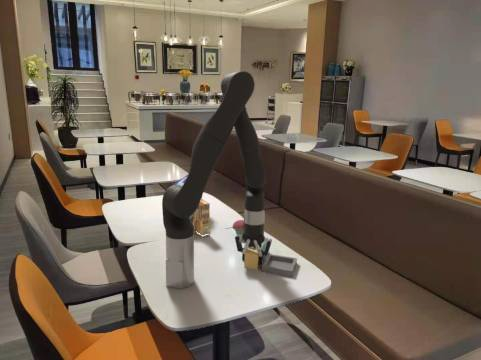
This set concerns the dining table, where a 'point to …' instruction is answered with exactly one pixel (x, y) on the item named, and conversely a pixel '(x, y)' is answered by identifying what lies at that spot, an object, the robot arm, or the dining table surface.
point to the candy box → (202, 218)
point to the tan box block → (251, 259)
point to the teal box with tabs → (262, 246)
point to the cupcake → (239, 227)
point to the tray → (279, 265)
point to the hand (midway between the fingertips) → (252, 263)
